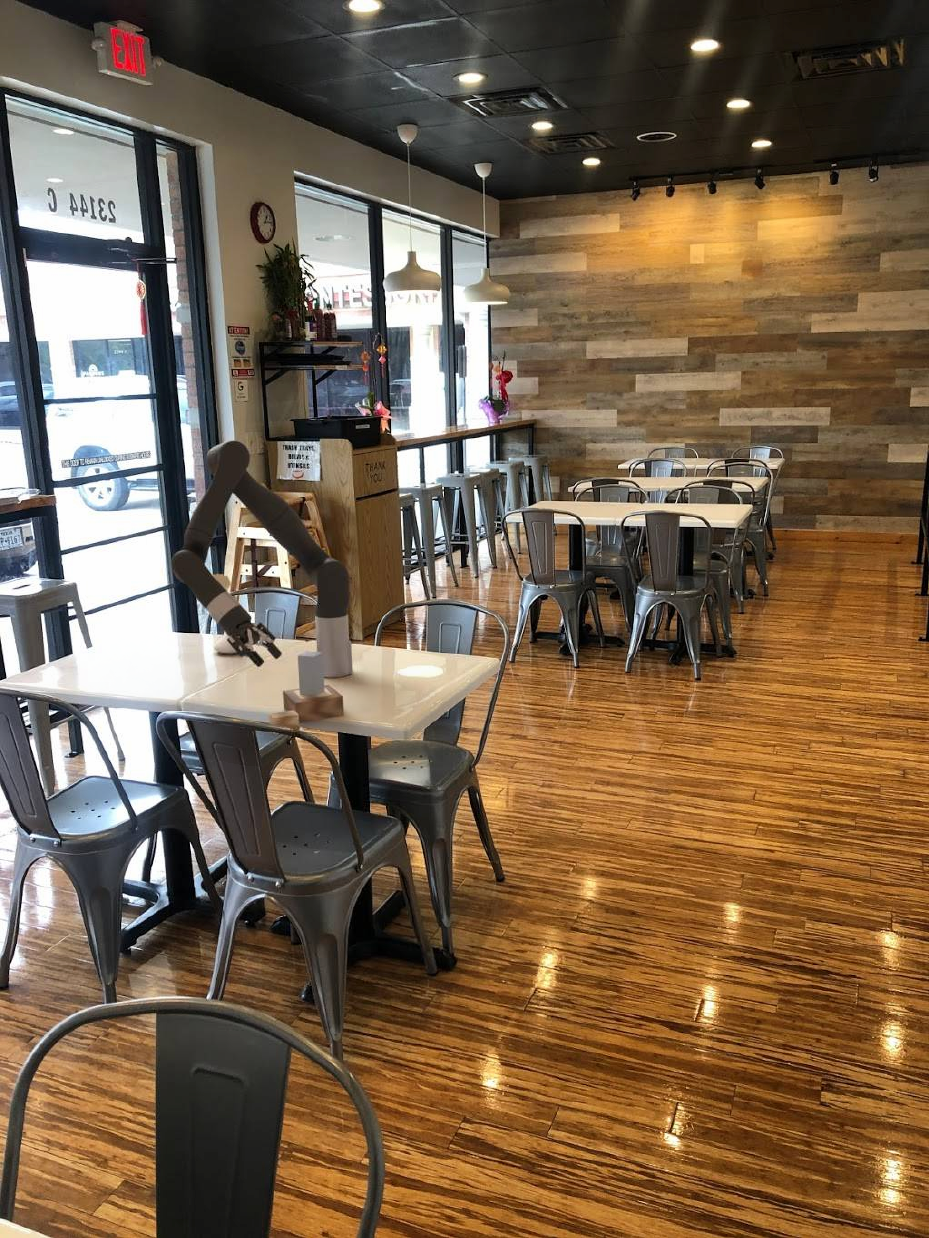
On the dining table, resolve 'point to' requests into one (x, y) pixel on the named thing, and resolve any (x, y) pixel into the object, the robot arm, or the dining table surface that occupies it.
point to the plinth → (314, 704)
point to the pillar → (311, 673)
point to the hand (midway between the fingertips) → (270, 660)
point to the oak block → (285, 719)
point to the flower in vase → (223, 644)
